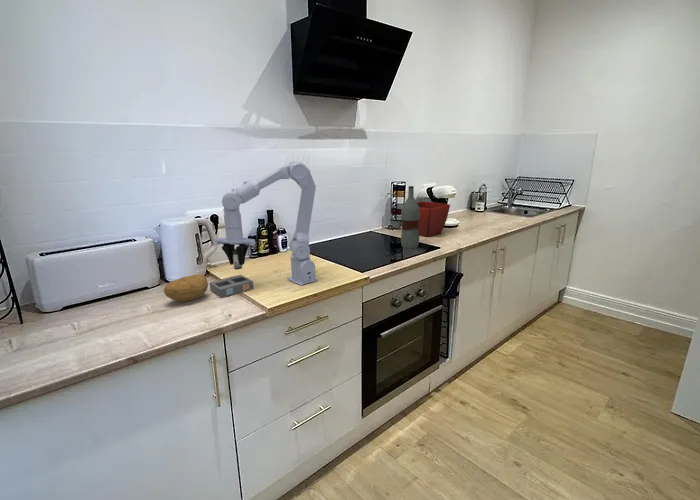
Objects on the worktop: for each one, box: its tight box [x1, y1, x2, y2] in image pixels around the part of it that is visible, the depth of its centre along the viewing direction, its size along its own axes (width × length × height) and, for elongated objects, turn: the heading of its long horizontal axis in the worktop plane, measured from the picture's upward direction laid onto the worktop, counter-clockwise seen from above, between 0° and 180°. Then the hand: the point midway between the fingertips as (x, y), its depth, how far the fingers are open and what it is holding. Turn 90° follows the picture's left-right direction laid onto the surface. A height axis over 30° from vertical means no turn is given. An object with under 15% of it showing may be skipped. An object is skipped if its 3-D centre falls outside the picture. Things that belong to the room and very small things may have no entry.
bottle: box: [400, 185, 420, 250], centre depth 184 cm, size 9×9×30 cm
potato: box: [163, 273, 209, 303], centre depth 125 cm, size 10×14×8 cm
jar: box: [231, 248, 243, 271], centre depth 134 cm, size 3×3×7 cm
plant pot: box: [416, 201, 451, 238], centre depth 212 cm, size 19×19×17 cm
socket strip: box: [208, 274, 254, 299], centre depth 134 cm, size 10×12×3 cm
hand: (237, 264), depth 135 cm, fingers closed on jar, 3 cm apart
